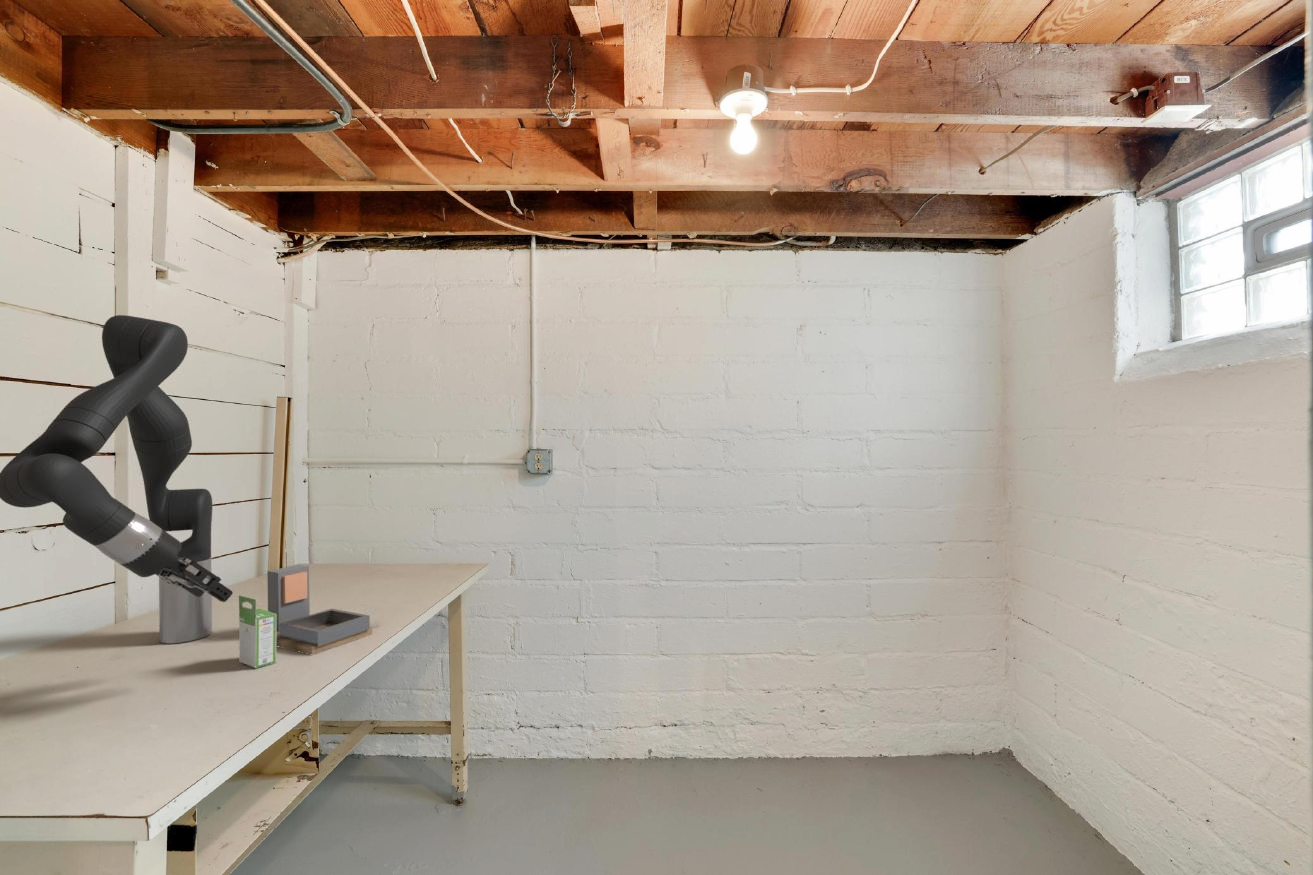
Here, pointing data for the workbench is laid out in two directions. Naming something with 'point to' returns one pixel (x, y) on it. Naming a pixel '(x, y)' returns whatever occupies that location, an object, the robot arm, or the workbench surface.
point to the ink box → (256, 635)
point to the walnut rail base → (315, 649)
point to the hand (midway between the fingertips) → (215, 594)
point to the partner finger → (288, 593)
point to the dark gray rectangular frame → (307, 634)
